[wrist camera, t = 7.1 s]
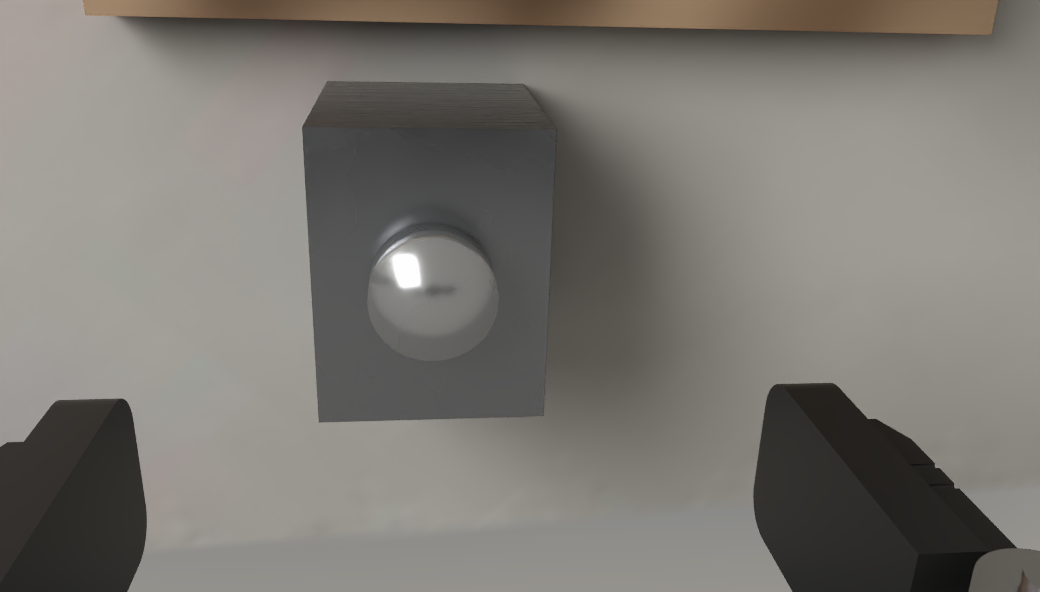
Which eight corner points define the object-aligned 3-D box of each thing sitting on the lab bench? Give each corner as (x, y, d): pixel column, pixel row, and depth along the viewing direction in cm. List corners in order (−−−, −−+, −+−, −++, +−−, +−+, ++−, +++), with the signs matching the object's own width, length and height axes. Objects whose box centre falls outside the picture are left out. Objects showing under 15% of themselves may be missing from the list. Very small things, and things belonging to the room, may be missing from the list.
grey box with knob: (338, 316, 24) (314, 447, 18) (327, 80, 21) (295, 138, 15) (515, 314, 24) (550, 440, 18) (522, 83, 22) (565, 141, 16)
